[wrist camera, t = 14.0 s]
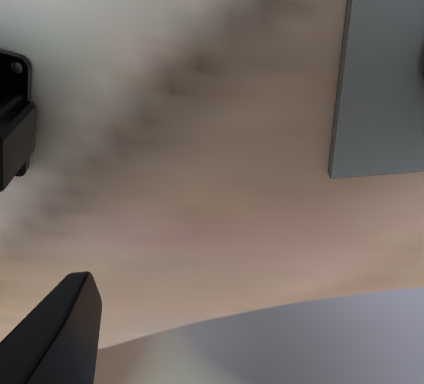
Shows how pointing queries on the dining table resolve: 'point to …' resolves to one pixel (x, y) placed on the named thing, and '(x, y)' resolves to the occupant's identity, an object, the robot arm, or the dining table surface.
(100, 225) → the dining table surface
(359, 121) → the mat
